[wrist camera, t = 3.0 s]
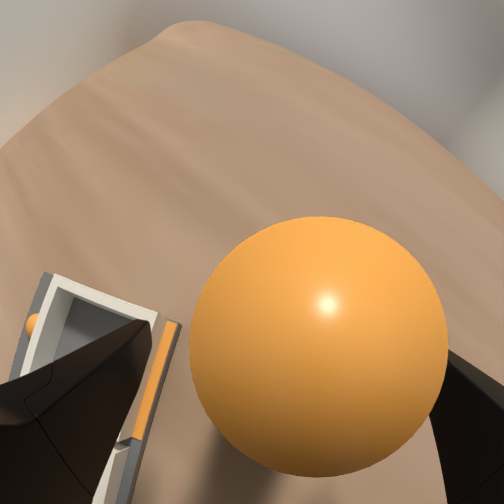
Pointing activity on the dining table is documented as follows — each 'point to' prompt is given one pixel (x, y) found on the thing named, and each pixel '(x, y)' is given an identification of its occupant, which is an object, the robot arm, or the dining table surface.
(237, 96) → the dining table surface
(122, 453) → the grey compartment tray
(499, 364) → the dining table surface
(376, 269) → the plug
